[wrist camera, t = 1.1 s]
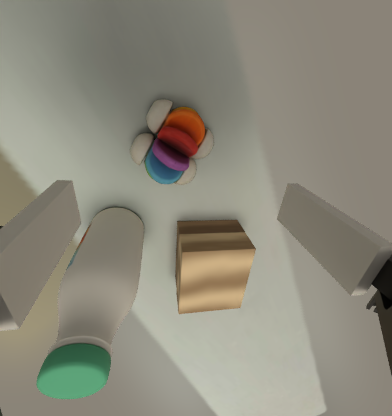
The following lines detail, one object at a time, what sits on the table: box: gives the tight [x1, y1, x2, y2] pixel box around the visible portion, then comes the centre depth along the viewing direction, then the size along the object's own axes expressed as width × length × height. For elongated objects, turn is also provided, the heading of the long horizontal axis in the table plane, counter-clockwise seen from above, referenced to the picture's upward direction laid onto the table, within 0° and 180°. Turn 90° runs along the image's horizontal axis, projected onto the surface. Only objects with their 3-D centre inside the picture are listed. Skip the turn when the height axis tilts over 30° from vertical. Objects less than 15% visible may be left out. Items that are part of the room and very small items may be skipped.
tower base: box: [175, 220, 245, 287], centre depth 35 cm, size 12×10×4 cm
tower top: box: [177, 232, 256, 314], centre depth 32 cm, size 12×10×4 cm
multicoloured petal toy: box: [130, 99, 214, 185], centre depth 24 cm, size 8×10×7 cm
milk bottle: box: [37, 207, 144, 399], centre depth 23 cm, size 8×8×20 cm
